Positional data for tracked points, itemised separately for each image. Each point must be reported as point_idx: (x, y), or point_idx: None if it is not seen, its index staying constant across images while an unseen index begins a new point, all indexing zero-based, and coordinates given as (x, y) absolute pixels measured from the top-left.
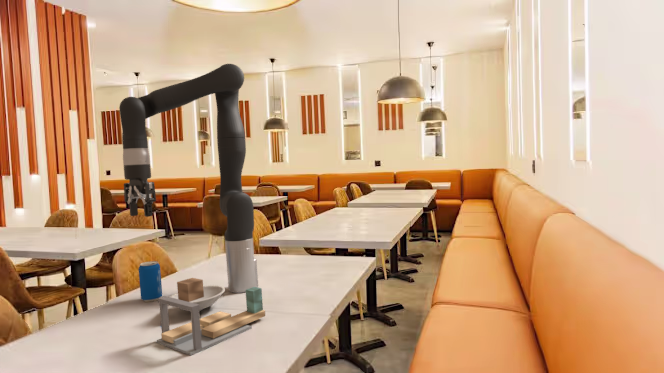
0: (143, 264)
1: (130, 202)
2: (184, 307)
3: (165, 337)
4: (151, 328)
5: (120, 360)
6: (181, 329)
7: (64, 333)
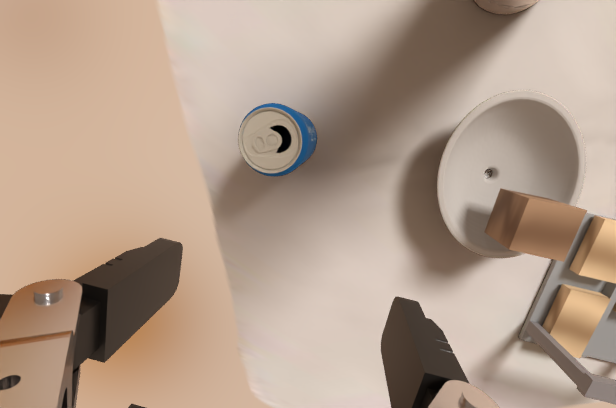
0: (253, 150)
1: (79, 374)
2: None
3: None
4: (452, 287)
5: (504, 397)
6: (574, 326)
7: (295, 341)
